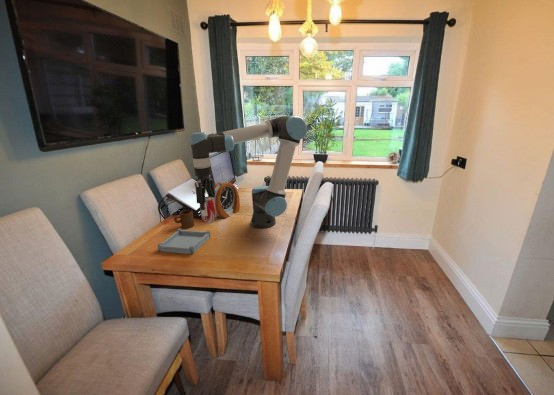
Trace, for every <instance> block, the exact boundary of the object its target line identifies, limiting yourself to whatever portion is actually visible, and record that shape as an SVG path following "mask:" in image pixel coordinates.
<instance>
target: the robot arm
mask: <svg viewBox="0 0 554 395" xmlns="http://www.w3.org/2000/svg"><path fill="white" fill-rule="evenodd" d="M307 131H308V126H307V123H306V121H305V119H304V118H302V116H298V115H281V116H279V117H276V118H273V119H272V118H271V119H268V120H265V121H264V122H263V123H259V124H253V125H249V126H248V125H247V126H244V127H240V128H236V129H235V128H234V129H231V130H230V129H229V130H227V131H226V130H225V131H221V132H217V133H213V132H212V133H209V134H208V133H207V132H206V131H204V132H202V131H201V132H191V133H190V135H189V140H190V148H191V154H192V155H191V156H192V162H193V167H194V169H193V170H194V175H195V176H196V177H197V182H194V187H195V196H196V198H195V199H196V204H199V208H200V207H201V210H200V215H201V214H202V216H208V214H207V206H206V203H205V197H206V193H207V197H212V199H213V197H215V190H214V185H215V184H214V177H213V176H214V175H212V167H211V158H210V154H212V153H214V154H215V153H223V152H224V153H225V152H231V151H233V150H234V148H235V145H237V144H242V143H246V142H250V141H251V142H252V141H255V140H260V139H263V138H269V139H272V138H278V139H277V140H278V141H279V145H278V149H277V153H276V157H275V160H274V166H273V170H272V173H271V177H270V180H269V181H270V182H269V184H268V185H261V186H256V187H253V188H252V189H251V199H252V215H251V219H250V224H251V226H252V227H253V228H257V229H266V228H270V227H273V226H275V225H276V223H277V221H276V217H279V216H281V215H283V214H284V213H285V212H286V210H287V207H288V202H287V200H286V199H285V198H286V196H287V192H286V191H285V188H286V185H287V180H288V176H289V173H290V170H291V165H292V162H293V158H294V155H295V154H294V153H295V150H296V147H298V146H299V145H300V143H301V140H302V139H303V138H305V137H306V135H307Z"/></svg>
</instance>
